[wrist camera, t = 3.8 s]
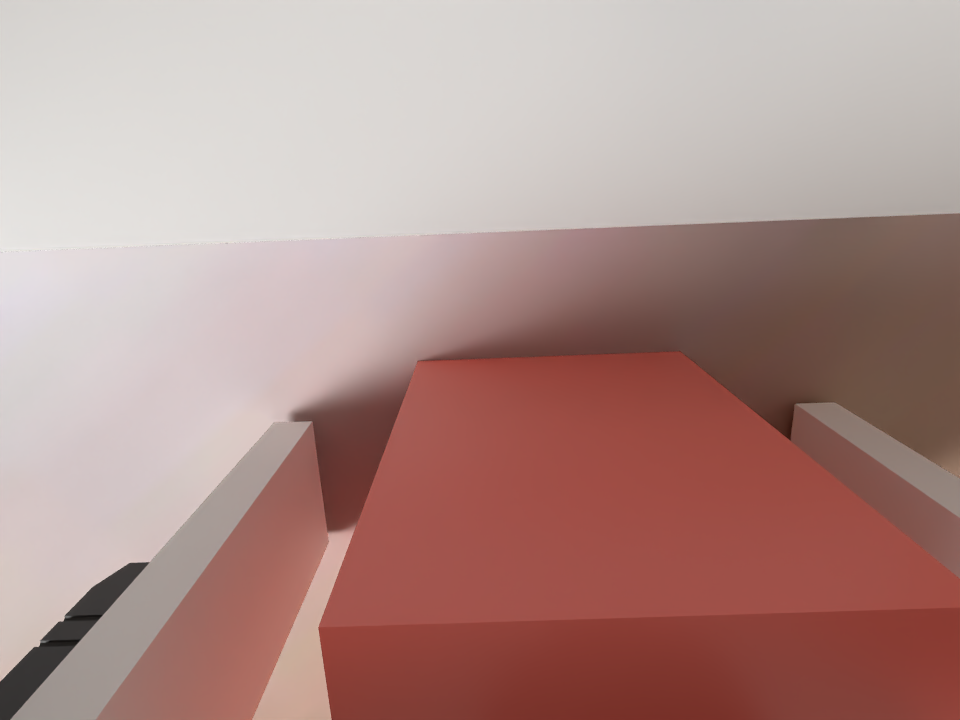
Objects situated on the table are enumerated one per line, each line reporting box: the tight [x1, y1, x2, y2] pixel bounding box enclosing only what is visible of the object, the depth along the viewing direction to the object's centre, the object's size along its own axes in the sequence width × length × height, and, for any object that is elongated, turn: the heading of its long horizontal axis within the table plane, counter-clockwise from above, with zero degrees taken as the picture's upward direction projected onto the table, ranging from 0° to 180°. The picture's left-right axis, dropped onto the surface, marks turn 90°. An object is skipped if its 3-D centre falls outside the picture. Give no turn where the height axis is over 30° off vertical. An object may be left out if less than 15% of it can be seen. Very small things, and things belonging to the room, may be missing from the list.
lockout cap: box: [318, 351, 960, 720], centre depth 8 cm, size 5×5×8 cm
